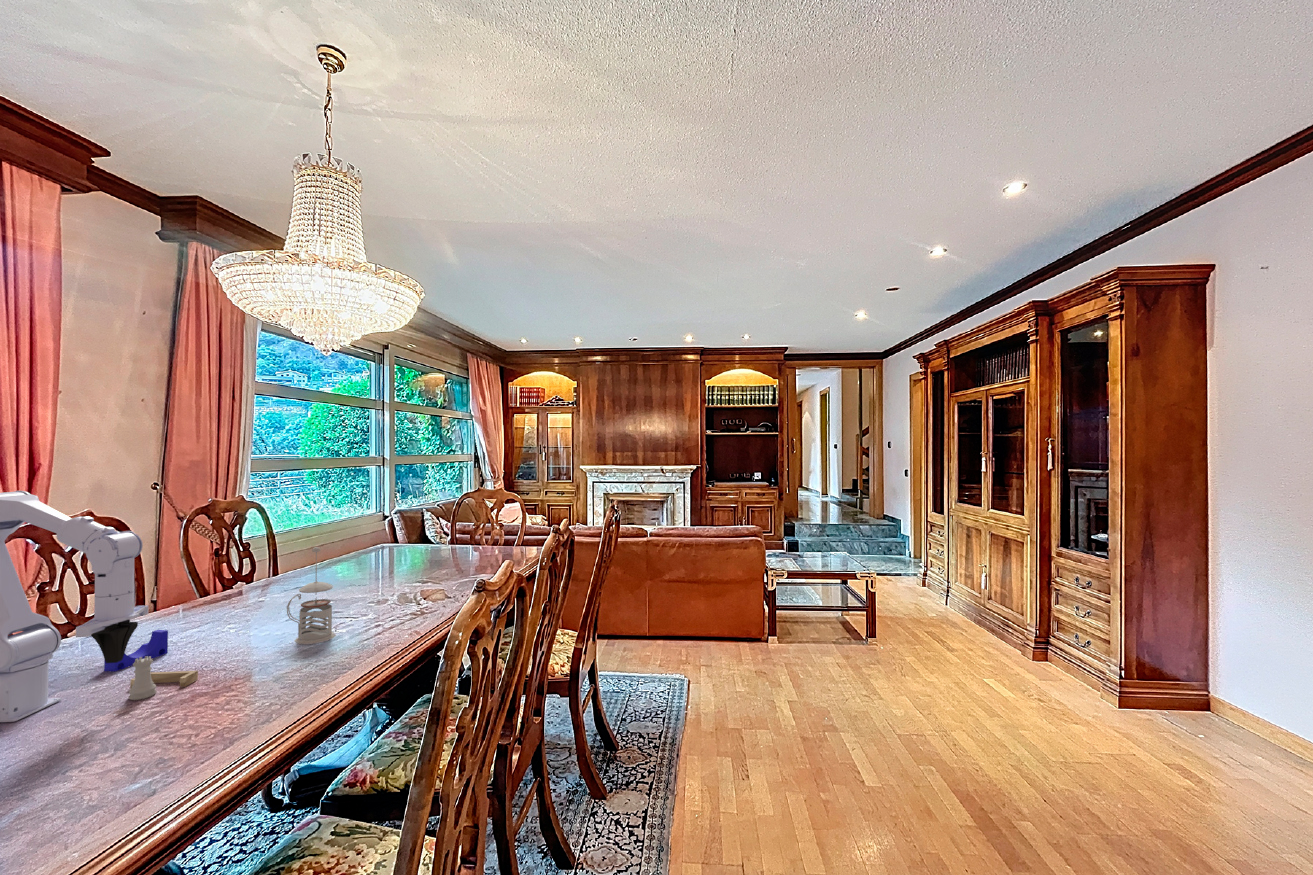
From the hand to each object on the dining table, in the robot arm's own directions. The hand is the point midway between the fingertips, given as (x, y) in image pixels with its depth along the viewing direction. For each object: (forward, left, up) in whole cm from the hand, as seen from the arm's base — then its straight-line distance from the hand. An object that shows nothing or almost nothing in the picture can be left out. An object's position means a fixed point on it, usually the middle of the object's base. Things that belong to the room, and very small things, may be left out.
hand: (114, 661), depth 112 cm
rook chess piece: (+6, -1, -10) cm, 12 cm away
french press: (+41, -18, -10) cm, 45 cm away
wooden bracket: (+12, -1, -10) cm, 15 cm away
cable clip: (+27, +17, -10) cm, 34 cm away
